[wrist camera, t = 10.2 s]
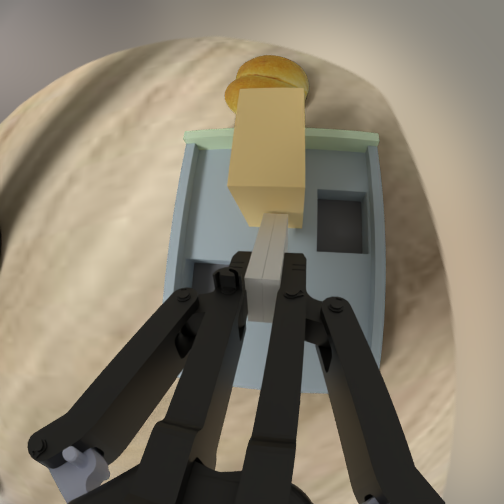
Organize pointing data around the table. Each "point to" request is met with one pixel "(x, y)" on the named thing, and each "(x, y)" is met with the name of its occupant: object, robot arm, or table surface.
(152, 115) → the table surface
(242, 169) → the ochre block
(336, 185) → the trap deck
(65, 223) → the table surface
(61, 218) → the table surface
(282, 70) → the bread roll
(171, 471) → the robot arm
